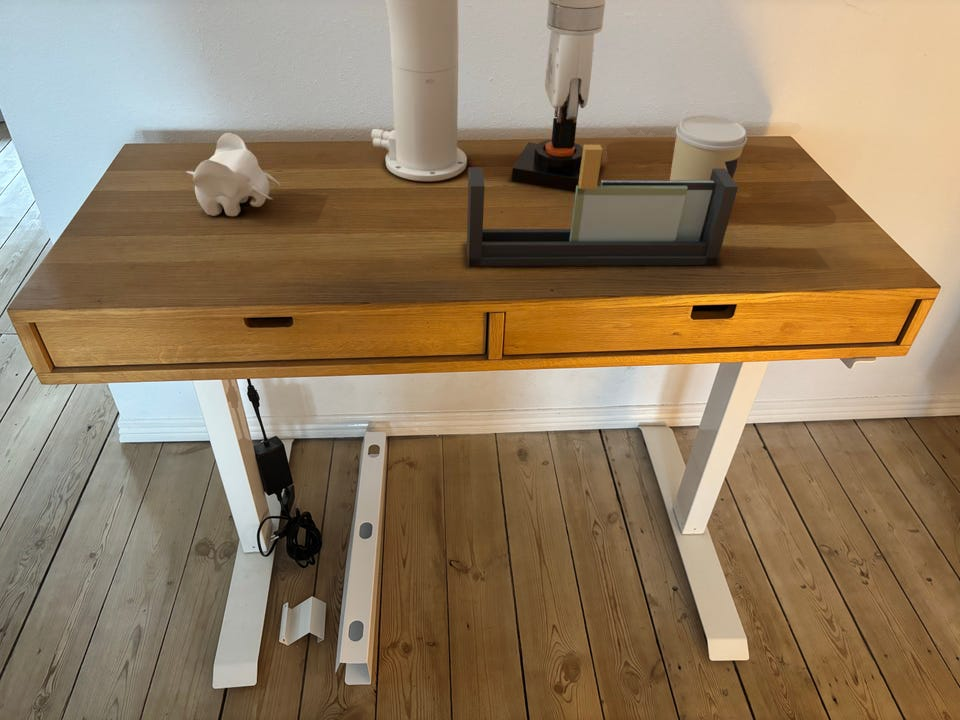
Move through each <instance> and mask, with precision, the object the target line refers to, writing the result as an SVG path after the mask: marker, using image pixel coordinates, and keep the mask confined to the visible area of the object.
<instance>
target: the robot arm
mask: <svg viewBox="0 0 960 720" xmlns="http://www.w3.org/2000/svg"><path fill="white" fill-rule="evenodd" d="M385 3H386V11H387V19H388V29H389V44H390V46H389V47H390V62H391V82H392V108H393V127H394V129H392V130H391V131H389V130H388V131H387V130H385V129H379V128H373V129H372V130H371V134H370V139H371V141H372V146H373V148H378V149H382V148H383V149H386V151H387V153H386V155H385V167H386V168H387V170H388V171H389V172H391V174H393V175H395V176H397V177H399V178H402V179H405V180H410V181H415V182H439V181H445V180H448V179H453V178H455V177H457V176H458V175H460V174H462V173H463V172H464V171H465V170H466V168H467V166H468V157H467V154H466V153H465V151H463V150H462V149H460V148H459V147H458V118H459V117H458V114H459V113H458V110H459V109H458V107H459V105H458V103H459V0H385ZM605 8H606V0H548V6H547V17H546V18H547V19H546V28H547V29H548V30H550V31H551V32H550V39H549V46H548V52H547V53H548V55H547V62H546V63H547V64H546V69H545V70H546V71H545V79H544V88H545V92H546V95H547V97H548V100H549V103H550V105H551V106H552V108H554V117H553V122H552V131H551V140H552V145H553V147H554V148H573V147H574V143H576V142H575V141H576V134H577V133H576V132H577V125H578V124H577V123H578V122H577V121H578V114H579V107H580V108H581V109H584V108H586V106H587V105H588V100H589V96H590V95H589V94H590V87H591V79H592V67H593V57H594V45H595V44H594V43H595V41H594V40H595V34H598V33H600V32H602V30H603V26H604V25H603V24H604V17H605V16H604V15H605Z"/></svg>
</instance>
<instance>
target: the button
mask: <svg viewBox="0 0 960 720" xmlns="http://www.w3.org/2000/svg"><path fill="white" fill-rule="evenodd" d="M574 150H575V147H573V148H554V147H553V145H552V141H550V142H548V143H547V144H546V146H545V152H546V153H548V154H551V155H553V156H560V157H562V156H571V155H573V154H574Z"/></svg>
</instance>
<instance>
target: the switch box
mask: <svg viewBox="0 0 960 720" xmlns="http://www.w3.org/2000/svg"><path fill="white" fill-rule="evenodd" d="M550 141H552V139H545V140H543V141H540V142H536V143H535V142H531V141H530V142H529V141H528V142H527V143H526V145H525V147H524V149H523V150H522V152H521V153H520V155H519V156H518V158H517V160H516V162H515V163H514V165H513V167H512V171H511V182H513V183H520V184H524V185H532V186H537V187H544V188H550V189H556V190H562V191H569V192H574V193H576V186H577V185H579V176H580V168H581V161H582V153H583V147H582V145H580V144H579V143H576V142H574V147H575V150H574V154H573V155H571V156H562V157H560V156H553V155H551V154H548V153H546V152H545V146H546V144H547V143H548V142H550ZM603 155H604V154H603V153H602V157H601V163H600V168H601V167H602V161H603V160H602V159H603Z"/></svg>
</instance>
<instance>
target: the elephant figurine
mask: <svg viewBox="0 0 960 720" xmlns="http://www.w3.org/2000/svg"><path fill="white" fill-rule="evenodd" d="M215 148H216V149H215V151H214V154H213V155H212V156H211V157H210V158H209V159H204V160H203V161H201V162H200V163H199V164H198V165H197V167H196V168H195V171H191V170H190V171H189V170H187V171H186V174H188V175H190V176H192V180H191V181H192V183H193V184H194V192H195V193H194V194H195V196H196V200H197V202H198V204H199V205H200V207H201V208H202V210H203V211H204V212H205V213H206V214H207V215H209V216H212V217H216V216H218V215H220V214H222V212H223V210H224V213H225V215H226V216H228V217H237V216H238V215H239V214H240V213H241V206H240V205H241V204H244V203H246V202H247V201H248V199H249V197H252V199H251V200H250V201H249V204H250V206H252V207H254V208H260V207H261V206H263V205H264V204H265V202H266V200H272V201H274V199H273V198H272V197H271V196H269V195H270V190H271V186H270V182H269V180H270V181H272V182H273V183H275V184H276V185H278V186H281V187H282V185H281V183H280V182H279V181H277V180H276V178H274V177H273V176H272V175H271V174H269V173H268V172H264V171H263V170H262V168H261V167H260V165H259V162H258V158H257V157H256V156H255V154H254V153H252V152H251V150H249V149H248V146H247V145H246V143H245V141H244V140H243V139H242V138H241V137H240V136H239V135H237V134H234V133H231V132H225V133H224V134H222V135H221V136H220V137H219V138H218V139H217V142H216V147H215ZM222 207H223V208H222Z"/></svg>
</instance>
